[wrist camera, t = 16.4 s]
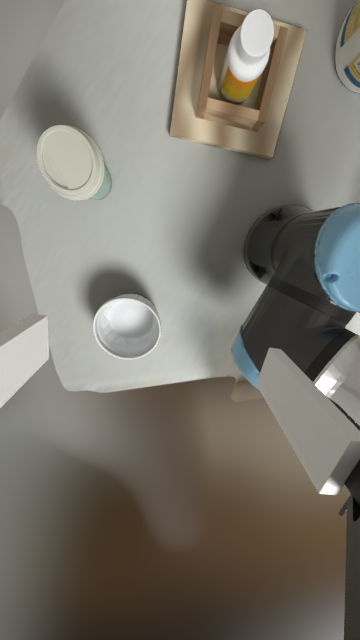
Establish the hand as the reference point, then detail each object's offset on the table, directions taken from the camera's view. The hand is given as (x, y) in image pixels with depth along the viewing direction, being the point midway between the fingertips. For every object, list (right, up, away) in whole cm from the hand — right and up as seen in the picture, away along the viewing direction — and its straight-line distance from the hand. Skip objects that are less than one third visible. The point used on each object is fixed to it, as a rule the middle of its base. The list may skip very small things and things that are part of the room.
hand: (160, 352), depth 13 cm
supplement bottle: (+10, +39, +22) cm, 45 cm away
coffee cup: (-14, +27, +27) cm, 40 cm away
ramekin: (-9, +2, +36) cm, 37 cm away
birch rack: (+10, +39, +23) cm, 46 cm away
